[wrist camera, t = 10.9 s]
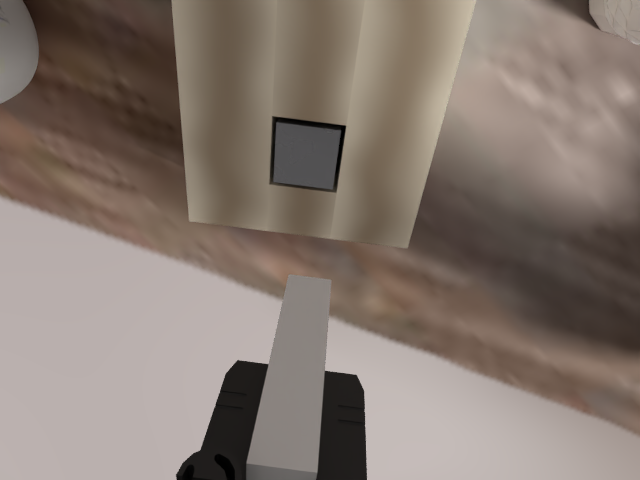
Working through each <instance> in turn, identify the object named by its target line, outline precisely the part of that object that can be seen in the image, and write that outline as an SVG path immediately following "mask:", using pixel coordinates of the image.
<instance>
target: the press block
mask: <svg viewBox="0 0 640 480" xmlns="http://www.w3.org/2000/svg"><path fill="white" fill-rule="evenodd" d="M171 1H172V13H173V26H174V38H175V51H176V63H177V76H178V88H179V101H180V113H181V126H182V138H183V151H184V163H185V176H186V188H187V201H188V213H189V221H192V222H200V223H208V224H216V225H224V226H232V227H240V228H248V229H256V230H264V231H272V232H279V233H287V234H295V235H303V236H311V237H319V238H327V239H335V240H343V241H351V242H359V243H367V244H375V245H383V246H391V247H399V248H408V245H409V241H410V238H411V234H412V230H413V227H414V223H415V219H416V216H417V212H418V209H419V205H420V201H421V198H422V194H423V191H424V187H425V183H426V180H427V176H428V173H429V169H430V165H431V162H432V158H433V154H434V151H435V147H436V144H437V140H438V136H439V133H440V129H441V126H442V122H443V118H444V115H445V111H446V108H447V104H448V100H449V97H450V93H451V89H452V86H453V82H454V79H455V75H456V71H457V68H458V64H459V61H460V57H461V53H462V50H463V46H464V43H465V39H466V35H467V32H468V28H469V25H470V21H471V17H472V14H473V10H474V6H475V3H476V0H171ZM279 117H283V118H291V119H299V120H307V121H315V122H323V123H330V124H338V125H343V129H342V136H341V143H340V150H339V157H338V156H337V162H336V170H335V177H334V184H333V190H332V189H325V188H317V187H309V186H301V185H293V184H285V183H277V182H273V180H274V160H275V140H276V122H277V120H278V118H279Z"/></svg>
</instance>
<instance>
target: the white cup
mask: <svg viewBox="0 0 640 480" xmlns="http://www.w3.org/2000/svg"><path fill="white" fill-rule="evenodd" d="M589 13H590V15H591V16H592V18H593V19H594V21H595V22H596V24H597V25H598V27H599V28H600V30H601V31H604V32H606V33H609V34H612V35H614V36H617V37H620V38H623V39H627V40H629V41H630V42H631V43H634V44H638V45H640V0H589Z"/></svg>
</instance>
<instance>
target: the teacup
mask: <svg viewBox="0 0 640 480" xmlns="http://www.w3.org/2000/svg"><path fill="white" fill-rule="evenodd" d="M38 59H39V46H38V38H37V33H36V30H35V26H34V23H33V21H32V18H31V16H30V13H29V11H28V9H27V7H26V6H25V4H24V2H23V0H0V104H1V103H3V102H5V101H7V100H9V99H11V98H12V97H14V96H15V95H17V94H19V93H20V92H21V91H22V90H23V89H24V88H25V87H26V86H27V85H28V84H29V83H30V81H31V80H32V78H33V76H34V73H35V71H36V68H37V65H38Z"/></svg>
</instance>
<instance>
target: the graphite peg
mask: <svg viewBox="0 0 640 480" xmlns="http://www.w3.org/2000/svg"><path fill="white" fill-rule="evenodd" d="M340 134H341V125H338V124H330V123H323V122H315V121H307V120H299V119H291V118H283V117H279V118H278V120H277V122H276V140H275V160H274V180H273V182H277V183H285V184H293V185H301V186H309V187H317V188H325V189H332V190H333V184H334V177H335V170H336V162H337V155H338V148H339V141H340Z"/></svg>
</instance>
